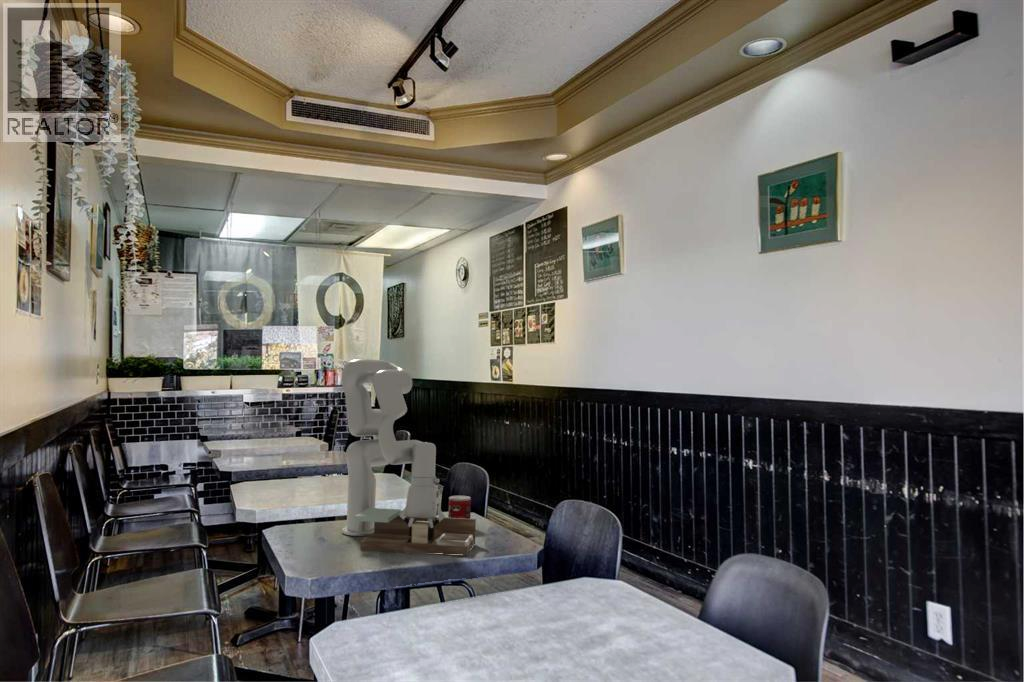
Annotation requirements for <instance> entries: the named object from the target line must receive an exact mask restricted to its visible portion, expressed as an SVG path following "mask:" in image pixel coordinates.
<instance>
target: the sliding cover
mask: <svg viewBox="0 0 1024 682" xmlns="http://www.w3.org/2000/svg"><path fill="white" fill-rule="evenodd" d="M401 512H402V510H401V509H398V508H397V509H396V508H395V509H394V508H381V507H380V508H378V507H377V508H376V507H375V508H368V509H366V510H364V511H363V512H361V513H359V514H357V515H355V519H354V521H367V522H386V523H388V522H390V521H391V520H393V519H394V518H396V517H397V516H398V515H400V513H401Z"/></svg>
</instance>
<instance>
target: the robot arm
mask: <svg viewBox="0 0 1024 682" xmlns="http://www.w3.org/2000/svg"><path fill="white" fill-rule="evenodd" d="M364 384H372V387H373V389H374V392H375V396H376V399H377V402H378V406H379V408H372V403H371V395H370V393H369V391H368V389H367V388H366V387H365V386H364ZM341 385H342V389H343V392H344V396H345V404H346V416H347V425H348V430H349V433H350V434H351V436H354V437H373V439H363V440H357V441H354V442H352V443H350V444H349V445H348V447H347V449H346V452H345V459H346V464H347V476H348V477H347V507H346V509H347V510H346V526H344V527H342V528H341V533H342V534H344V535H346V536H352V537H353V536H354V537H362V536H363V537H365V536H369V535H371V534H372V533H374V522H367V521H354V519H355V515H357V514H359V513H361V512H363V511H364V510H366V509H368V508H376V497H377V495H376V494H377V489H376V488H377V478H376V475H375V473H374V472H373V469H372V468H374V467H382V466H388V465H392V466H393V465H394V466H396V465H405V464H411V477H410V479H411V484H410V485H409V487H408V491H407V495H406V501H405V504H406V505H405V507H404V508H403V510H401V512H400V515H399V516H400V517H401V518H402V519H404V521H405V522H406V523H407V524H408V526H409V536H411V540H412V524H413V523H414V522H415V519H416V518H426V519H428V521H429V525H430V526H429V528H428V541H430V540H432V538H433V537H434V526H435V525H436V524H437V523H438V522H440V521H441V520H442V519H444V518H445V517H446V516H445V514H444V512H443V510H441V509H440V495H439V486H438V485H436V484H439V483H440V478H437V476H436V459H437V457H436V456H437V447H436V444H435V443H432V442H427V441H426V442H424V441H421V440H418V439H407V440H397V439H396V437H395V433H394V424H395V421H396V420H398V419H400V418H401V417H403V416H405V415H406V413H407V412H408V407H407V404H406V400H405V398H404V397H405V396H404V395H405V394H408V393H410V391H411V390H412V388H413V379H412V376H411V375H410V373H409V372H408V371H407V370H405V369H404V368H402V367H400V366H399V365H397V364H395V363H393V362H391V361H389V360H385V359H371V358H369V359H368V358H366V359H365V358H360V359H359V358H358V359H353V360H350V361H348V362H347V363H346V364H345V365H344V367H343V369H342V372H341ZM407 516H408V517H407ZM409 517H410V518H409ZM435 517H439V518H437V519H436V520H434V518H435Z"/></svg>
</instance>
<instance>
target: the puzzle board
mask: <svg viewBox="0 0 1024 682" xmlns="http://www.w3.org/2000/svg"><path fill="white" fill-rule="evenodd" d="M407 517H408V516H407ZM409 518H410V517H409ZM437 518H439V516H436V517H435V518H434V520H436V519H437ZM415 521H428V519H426V518H416V519H415ZM476 521H477V519H476V518H470V519H466V518H448V517H447V516H445V518H444V519H442V520H441V521H440V522H438V523H437V524H436V525H435V526H434V537H433V538H432V540H431V544H421V543H412V540H411V536H409V526H408V524H407V523H406V522H405V521H404V519H402V518H401V517H400V516H399V515H398V516H397V517H396V518H394V519H393V520H391V521H390V522H388V523H386V522H374V533H372V534H371V535H367V536H366V537H365V538H363V539H362V540H360V543H359V544H360V545H359V550H360V549H361V550H360V551H372V550H381V551H380V552H389V551H397V552H396V553H406V552H411V553H410V554H422V553H443V554H463V555H467V554H468V552H469V551H470V549H471V548H472V546H473V545H474V544H475V545H476V530H477V529H476V526H477V522H476ZM472 549H473V548H472ZM470 552H471V551H470ZM470 552H469V553H470ZM468 555H469V554H468ZM468 555H467V556H468Z"/></svg>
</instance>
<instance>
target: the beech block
mask: <svg viewBox="0 0 1024 682" xmlns="http://www.w3.org/2000/svg"><path fill="white" fill-rule="evenodd" d="M429 526H430V525H429V521H415V522H414V523H413V524H412V543H421V544H431V540H430V541H428V528H429Z"/></svg>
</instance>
